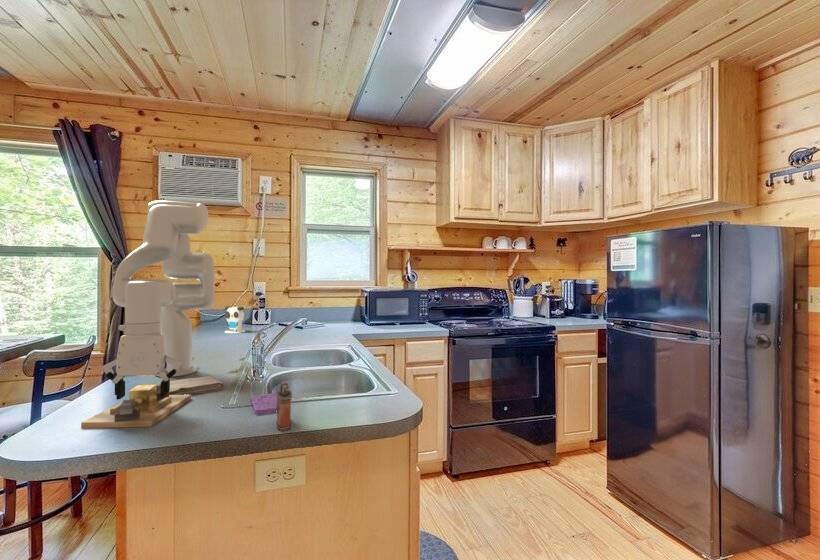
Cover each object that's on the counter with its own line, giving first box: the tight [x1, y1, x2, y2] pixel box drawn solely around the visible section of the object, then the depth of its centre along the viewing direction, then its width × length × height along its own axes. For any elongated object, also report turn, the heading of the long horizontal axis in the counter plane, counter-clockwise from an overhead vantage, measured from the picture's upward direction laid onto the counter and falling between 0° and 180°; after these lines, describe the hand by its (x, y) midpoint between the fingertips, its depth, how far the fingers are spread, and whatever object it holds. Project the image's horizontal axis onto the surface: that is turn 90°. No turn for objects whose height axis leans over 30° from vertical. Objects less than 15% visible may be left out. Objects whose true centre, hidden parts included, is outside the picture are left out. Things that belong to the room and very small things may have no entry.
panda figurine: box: [224, 305, 246, 334], centre depth 234 cm, size 12×11×15 cm
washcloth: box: [169, 375, 225, 395], centre depth 120 cm, size 12×18×3 cm, turn 132°
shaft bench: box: [80, 381, 192, 429], centre depth 100 cm, size 20×15×5 cm
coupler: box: [128, 383, 157, 410], centre depth 100 cm, size 9×4×5 cm, turn 15°
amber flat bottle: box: [275, 381, 293, 433], centre depth 93 cm, size 8×3×10 cm, turn 21°
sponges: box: [250, 392, 277, 415], centre depth 107 cm, size 7×13×2 cm, turn 28°
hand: (142, 396), depth 100 cm, fingers open, 9 cm apart
